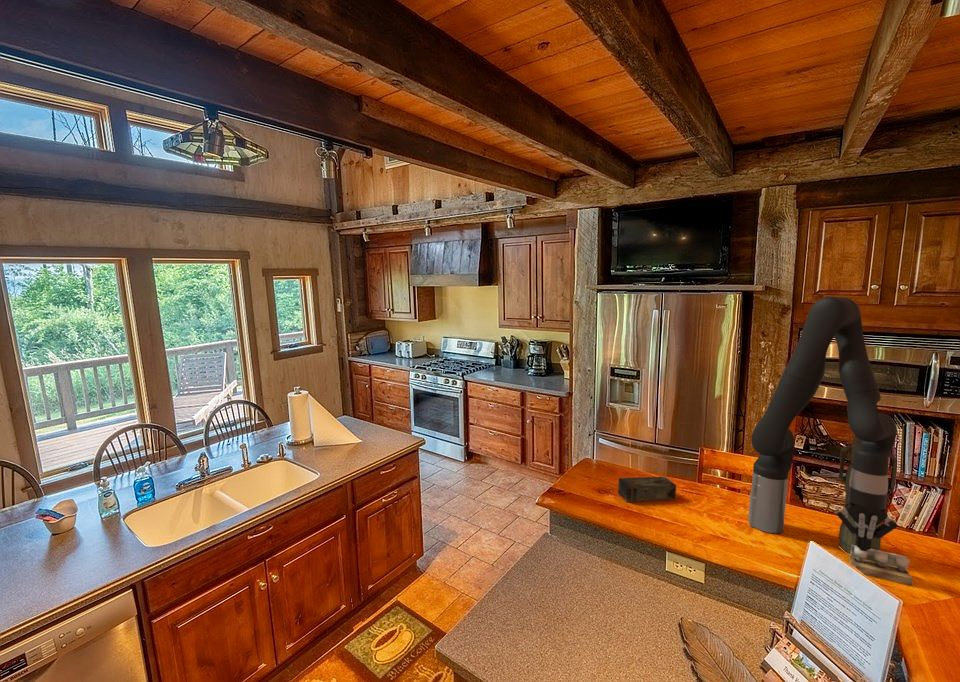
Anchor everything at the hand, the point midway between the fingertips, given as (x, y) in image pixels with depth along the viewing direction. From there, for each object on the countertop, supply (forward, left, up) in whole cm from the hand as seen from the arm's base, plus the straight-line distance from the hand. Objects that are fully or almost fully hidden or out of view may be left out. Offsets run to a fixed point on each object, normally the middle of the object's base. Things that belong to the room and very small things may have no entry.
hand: (862, 549), depth 116 cm
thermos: (+2, +10, -6) cm, 12 cm away
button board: (+4, 0, -6) cm, 7 cm away
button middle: (+4, 0, -4) cm, 5 cm away
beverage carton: (-57, +17, -6) cm, 60 cm away
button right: (+8, 0, -4) cm, 9 cm away
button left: (0, 0, -4) cm, 4 cm away
